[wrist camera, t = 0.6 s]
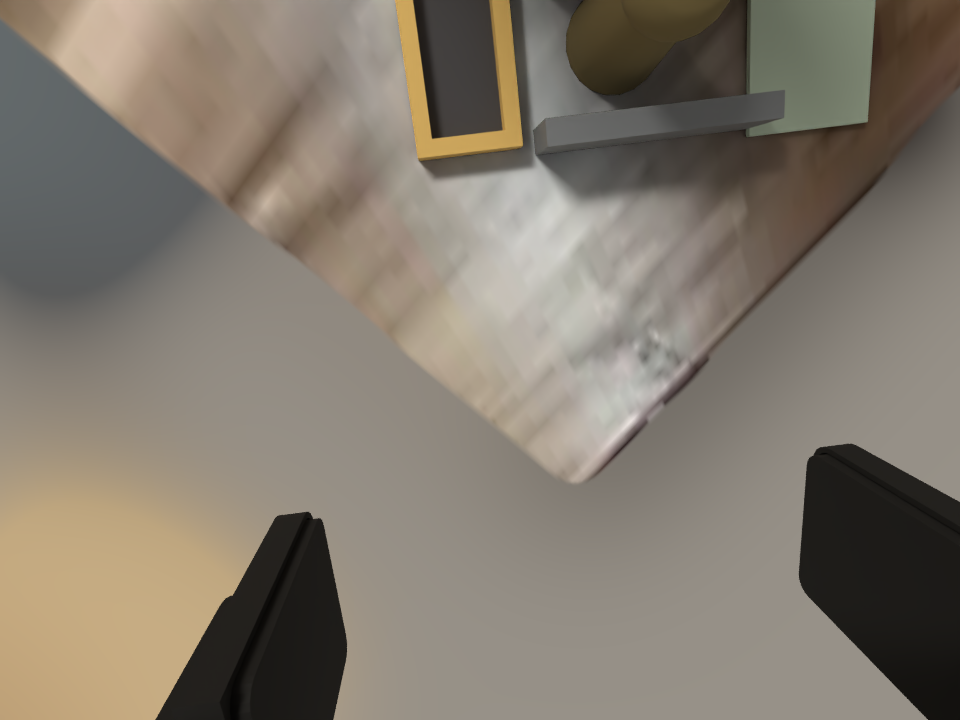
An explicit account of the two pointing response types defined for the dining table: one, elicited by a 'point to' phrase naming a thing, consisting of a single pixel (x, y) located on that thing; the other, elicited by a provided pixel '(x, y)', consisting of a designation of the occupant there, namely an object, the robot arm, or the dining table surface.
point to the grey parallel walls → (658, 122)
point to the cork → (631, 38)
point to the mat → (811, 60)
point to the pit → (460, 76)
